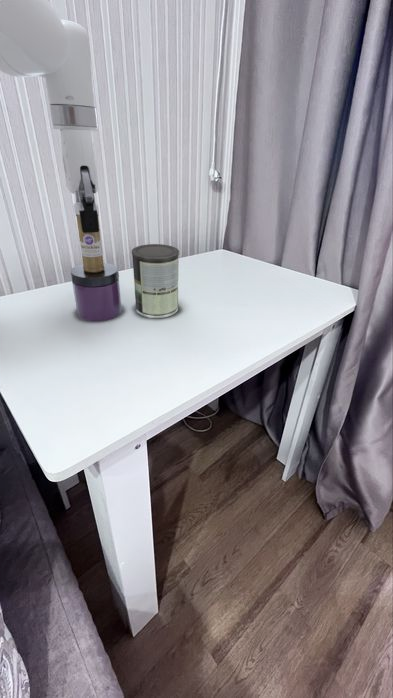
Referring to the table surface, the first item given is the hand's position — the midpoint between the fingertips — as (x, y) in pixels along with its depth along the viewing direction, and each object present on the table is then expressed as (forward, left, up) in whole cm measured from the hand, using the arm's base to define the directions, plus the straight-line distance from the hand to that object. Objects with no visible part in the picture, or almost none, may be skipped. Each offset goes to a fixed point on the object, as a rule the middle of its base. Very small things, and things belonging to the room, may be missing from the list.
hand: (88, 227), depth 67 cm
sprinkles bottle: (0, 0, -9) cm, 9 cm away
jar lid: (0, 0, -9) cm, 9 cm away
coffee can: (+13, -3, -19) cm, 23 cm away
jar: (0, 0, -19) cm, 19 cm away
